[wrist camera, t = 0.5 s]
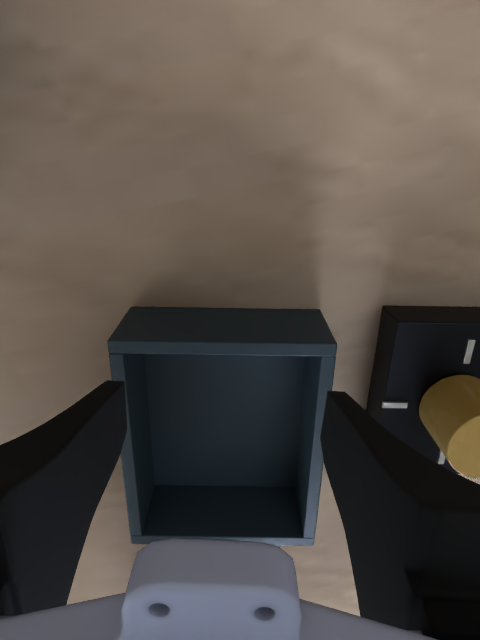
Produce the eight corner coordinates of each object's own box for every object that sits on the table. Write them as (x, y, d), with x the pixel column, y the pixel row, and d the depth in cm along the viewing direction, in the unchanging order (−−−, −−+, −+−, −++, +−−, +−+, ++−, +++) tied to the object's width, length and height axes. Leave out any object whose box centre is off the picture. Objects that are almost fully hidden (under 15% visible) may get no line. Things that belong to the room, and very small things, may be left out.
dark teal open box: (302, 488, 29) (313, 546, 25) (147, 486, 29) (131, 544, 24) (320, 309, 24) (337, 343, 19) (130, 306, 24) (106, 340, 19)
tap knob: (481, 434, 24) (522, 483, 20) (413, 433, 24) (442, 482, 20) (499, 374, 22) (547, 416, 19) (425, 373, 22) (460, 415, 19)
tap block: (481, 447, 27) (504, 476, 25) (358, 445, 27) (370, 475, 25) (522, 307, 24) (555, 325, 21) (380, 305, 24) (396, 323, 21)
